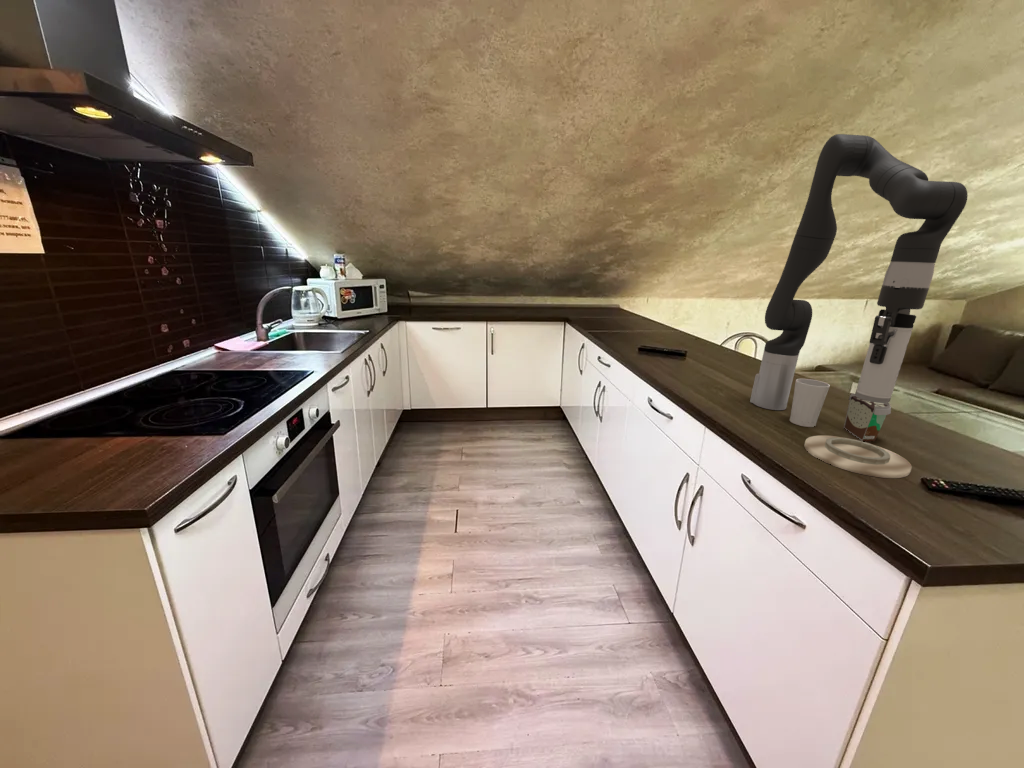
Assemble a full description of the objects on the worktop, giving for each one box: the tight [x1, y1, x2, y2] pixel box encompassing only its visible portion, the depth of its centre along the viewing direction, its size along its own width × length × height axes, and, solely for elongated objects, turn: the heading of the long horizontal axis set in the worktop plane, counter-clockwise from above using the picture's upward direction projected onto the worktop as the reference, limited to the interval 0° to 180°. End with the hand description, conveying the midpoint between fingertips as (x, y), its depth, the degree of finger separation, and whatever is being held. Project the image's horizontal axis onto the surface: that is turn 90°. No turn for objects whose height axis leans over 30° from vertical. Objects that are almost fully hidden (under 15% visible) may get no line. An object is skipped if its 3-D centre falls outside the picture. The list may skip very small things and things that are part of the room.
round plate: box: [803, 435, 913, 479], centre depth 102 cm, size 20×20×2 cm
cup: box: [789, 378, 831, 428], centre depth 122 cm, size 8×8×12 cm
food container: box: [843, 392, 892, 443], centre depth 115 cm, size 12×6×10 cm, turn 168°
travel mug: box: [854, 308, 917, 403], centre depth 95 cm, size 6×7×20 cm
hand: (882, 361), depth 96 cm, fingers closed on travel mug, 6 cm apart
